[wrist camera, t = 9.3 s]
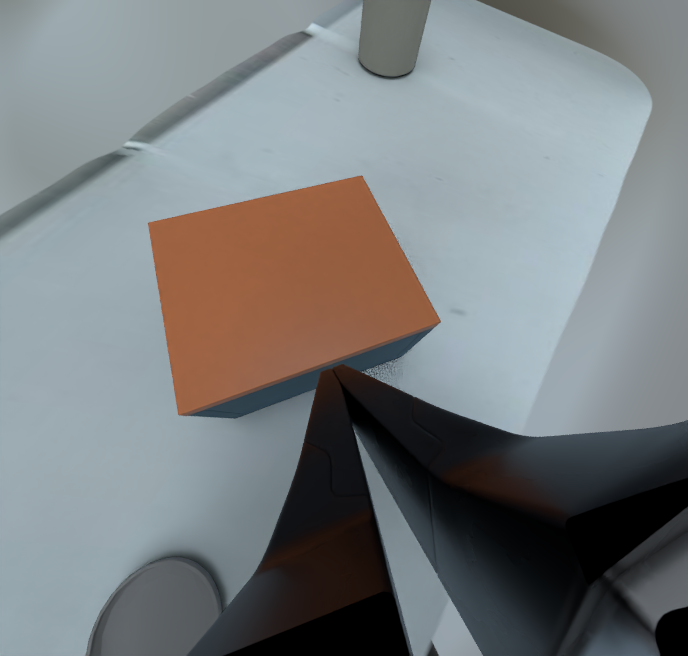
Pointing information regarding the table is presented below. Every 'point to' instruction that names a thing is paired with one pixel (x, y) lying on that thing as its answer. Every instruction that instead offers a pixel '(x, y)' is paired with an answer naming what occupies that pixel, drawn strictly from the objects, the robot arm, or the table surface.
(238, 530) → the table surface
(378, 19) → the travel mug
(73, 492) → the table surface
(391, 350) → the storage box
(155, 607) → the pocket watch
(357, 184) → the box lid
